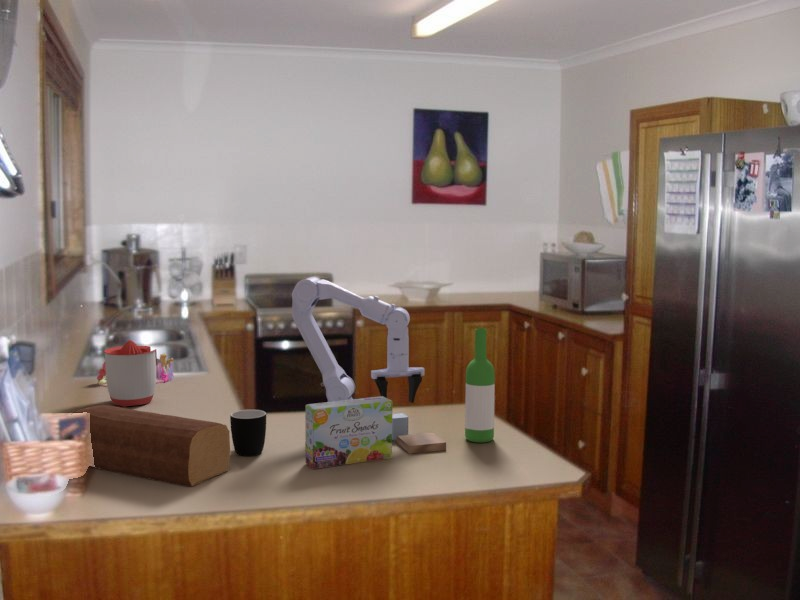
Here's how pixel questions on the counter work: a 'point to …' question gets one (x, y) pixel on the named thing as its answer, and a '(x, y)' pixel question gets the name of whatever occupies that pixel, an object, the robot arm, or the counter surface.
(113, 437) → the bread
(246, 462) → the counter surface
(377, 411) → the snack box
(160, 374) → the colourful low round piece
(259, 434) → the mug
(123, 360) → the citrus juicer
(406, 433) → the block
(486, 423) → the wine bottle
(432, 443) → the base board
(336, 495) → the counter surface
